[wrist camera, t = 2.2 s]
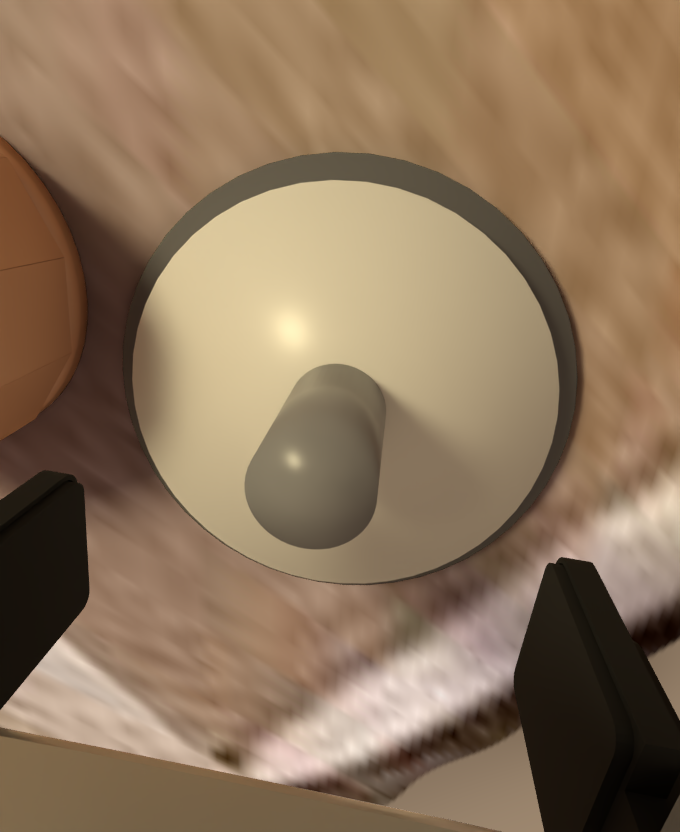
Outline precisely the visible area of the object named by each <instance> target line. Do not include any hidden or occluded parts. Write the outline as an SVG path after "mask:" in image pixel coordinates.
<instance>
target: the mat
mask: <svg viewBox="0 0 680 832" xmlns="http://www.w3.org/2000/svg"><path fill="white" fill-rule="evenodd" d="M327 180H343V181H362V182H370V183H375V184H380V185H385V186H390V187H395V188H399V189H402V190H405V191H408V192H411V193H413V194H416V195H419V196H422V197H425V198H427V199H429V200H431V201H433V202H435V203H437V204H439V205H441V206H443V207H445V208H447V209H449V210H451V211H453V212H454V213H456V214H458V215H459V216H460V217H462V218H463V219H465V220H466V221H467V222H469V223H470V224H472V225H473V226H474V227H476V228H477V229H479V230H480V231H481V232H483V233H484V234H485V235H486V236H487V237H488V238H489V239H490V240H491V241H492V242H493V243H494V244H495V245H496V246H497V247H498V248H500V249H501V250H502V251H503V252H504V253H505V254H506V255H507V257H508V258H509V259H510V261H511V262H512V263H513V264H514V266H515V267H516V268H517V269H518V271H519V272H520V273H521V275H522V276H523V277H524V278H525V280H526V282H527V284H528V285H529V287H530V289H531V291H532V292H533V294H534V296H535V298H536V299H537V301H538V303H539V305H540V307H541V309H542V312H543V314H544V317H545V320H546V322H547V325H548V327H549V330H550V332H551V336H552V341H553V345H554V349H555V354H556V358H557V365H558V378H559V403H558V417H557V422H556V426H555V431H554V436H553V440H552V444H551V447H550V450H549V452H548V455H547V458H546V460H545V463H544V466H543V468H542V470H541V472H540V474H539V476H538V478H537V479H536V481H535V483H534V485H533V487H532V489H531V491H530V492H529V493H528V495H527V496H526V497H525V499H524V500H523V502H522V503H521V504H520V506H519V507H518V508H517V510H516V511H515V512H514V513H513V514H512V515H511V516H510V517H509V518H508V520H507V521H506V522H505V523H504V524H503V525H502V526H501V527H500V528H499V529H498V530H497V531H495V532H494V533H493V534H492V535H491V536H489V537H488V538H487V539H486V540H484V541H483V542H482V543H481V544H479V545H478V546H476V547H475V548H473V549H472V550H470V551H468V552H467V553H465V554H464V555H462V556H460V557H459V558H457V559H455V560H453V561H450V562H448V563H446V564H444V565H442V566H440V567H438V568H435V569H432V570H429V571H426V572H423V573H420V574H417V575H414V576H411V577H406V578H401V579H397V580H392V581H385V582H375V583H365V584H361V583H334V582H326V583H334V584H343V585H372V584H382V583H392V582H398V581H403V580H408V579H412V578H417V577H421V576H424V575H427V574H430V573H433V572H436V571H439V570H442V569H445V568H447V567H449V566H451V565H453V564H455V563H458V562H460V561H462V560H464V559H466V558H468V557H470V556H471V555H473V554H475V553H476V552H478V551H479V550H481V549H483V548H484V547H486V546H488V545H489V544H491V543H492V542H493V541H494V540H496V539H497V538H498V537H499V536H500V535H502V534H503V533H504V532H505V531H507V530H508V529H509V528H510V527H511V526H512V525H513V524H514V523H515V522H516V521H517V520H518V519H519V518H520V517H521V516H522V515H523V514H524V513H525V512H526V511H527V510H528V509H529V508H530V506H531V505H532V504H533V502H534V501H535V500H536V498H537V497H538V495H539V494H540V493H541V491H542V490H543V489H544V487H545V486H546V484H547V482H548V480H549V479H550V477H551V475H552V473H553V471H554V469H555V468H556V466H557V464H558V462H559V460H560V457H561V454H562V452H563V449H564V447H565V444H566V441H567V439H568V436H569V432H570V428H571V423H572V419H573V414H574V410H575V402H576V389H577V364H576V349H575V344H574V339H573V334H572V330H571V325H570V320H569V317H568V314H567V311H566V309H565V306H564V303H563V301H562V298H561V295H560V293H559V290H558V287H557V286H556V284H555V282H554V280H553V278H552V277H551V275H550V273H549V271H548V269H547V268H546V266H545V264H544V262H543V260H542V259H541V257H540V256H539V255H538V253H537V252H536V251H535V249H534V248H533V247H532V246H531V244H530V243H529V242H528V240H527V239H526V238H525V236H524V235H523V234H522V232H520V231H519V230H518V229H517V228H516V227H515V226H514V225H513V224H512V223H511V222H510V221H509V220H508V219H507V218H506V217H505V216H504V215H503V214H502V213H501V212H500V211H499V210H498V209H497V208H495V207H494V206H493V205H491V204H490V203H489V202H487V201H486V200H484V199H483V198H482V197H480V196H479V195H477V194H476V193H475V192H473V191H472V190H471V189H469V188H467V187H465V186H464V185H462V184H460V183H458V182H456V181H454V180H452V179H450V178H448V177H446V176H444V175H443V174H441V173H439V172H436V171H433V170H430V169H428V168H425V167H422V166H419V165H416V164H413V163H410V162H408V161H405V160H400V159H395V158H389V157H384V156H379V155H374V154H364V153H343V152H332V153H322V154H312V155H302V156H297V157H293V158H289V159H285V160H281V161H277V162H273V163H269V164H267V165H264V166H262V167H259V168H257V169H255V170H252V171H250V172H247V173H245V174H243V175H240V176H238V177H236V178H234V179H233V180H231V181H229V182H228V183H226V184H224V185H223V186H221V187H219V188H218V189H216V190H214V191H213V192H211V193H210V194H209V195H207V196H206V197H205V198H204V199H202V200H201V201H200V202H199V203H198V204H196V205H195V206H194V207H193V208H191V209H190V210H189V211H188V212H187V213H186V214H185V215H184V216H183V217H182V218H181V219H180V220H179V221H178V222H177V224H176V225H175V226H174V227H173V228H172V229H171V230H170V231H169V232H168V233H167V235H166V236H165V237H164V239H163V240H162V242H161V243H160V245H159V246H158V248H157V249H156V251H155V252H154V254H153V255H152V257H151V258H150V260H149V262H148V264H147V266H146V268H145V270H144V272H143V274H142V276H141V278H140V280H139V283H138V285H137V287H136V290H135V293H134V296H133V300H132V303H131V306H130V309H129V313H128V317H127V324H126V330H125V336H124V344H123V375H124V384H125V394H126V399H127V403H128V408H129V412H130V416H131V420H132V423H133V426H134V429H135V431H136V434H137V437H138V440H139V442H140V445H141V447H142V449H143V451H144V453H145V455H146V457H147V459H148V461H149V463H150V465H151V467H152V469H153V470H154V472H155V473H156V475H157V476H158V478H159V479H160V481H161V482H162V484H163V485H164V487H165V488H166V490H167V491H168V492H169V493H170V495H171V496H172V497H173V498H174V499H175V500H176V502H177V503H178V504H179V505H180V506H181V508H182V509H183V510H184V511H185V512H186V513H187V514H188V515H189V516H190V517H191V518H192V519H194V520H195V521H196V522H197V523H198V524H199V525H200V526H201V527H202V528H203V529H204V530H206V531H207V532H208V533H210V534H211V535H212V536H214V537H215V538H216V539H218V540H219V541H220V542H222V543H223V544H225V543H224V542H223V541H221V540H220V539H219V538H217V537H216V536H215V535H213V534H212V533H211V532H209V531H208V530H207V529H206V528H205V527H204V526H203V525H202V524H200V523H199V522H198V521H197V520H196V519H195V518H194V517H193V516H192V515H191V514H190V513H189V512H188V511H187V510H186V508H185V507H184V506H183V505H182V504H181V503H180V501H179V500H178V499H177V498H176V497H175V496H174V494H173V493H172V491H171V490H170V488H169V487H168V485H167V484H166V482H165V481H164V479H163V478H162V476H161V475H160V473H159V471H158V469H157V467H156V465H155V463H154V461H153V459H152V457H151V455H150V454H149V451H148V448H147V446H146V443H145V440H144V438H143V435H142V432H141V429H140V425H139V421H138V417H137V412H136V408H135V402H134V392H133V382H132V373H133V352H134V346H135V341H136V335H137V329H138V326H139V323H140V319H141V316H142V313H143V310H144V307H145V304H146V302H147V300H148V298H149V295H150V293H151V291H152V289H153V287H154V285H155V283H156V281H157V279H158V278H159V276H160V275H161V273H162V272H163V270H164V269H165V267H166V266H167V264H168V263H169V262H170V260H171V259H172V257H173V256H174V255H175V254H176V253H177V251H178V250H179V249H180V248H181V247H182V246H183V245H184V244H185V243H186V242H187V241H188V240H189V239H190V237H191V236H192V235H193V234H195V233H196V232H197V231H198V230H200V229H201V228H202V227H203V226H205V225H206V224H207V223H208V222H210V221H211V220H212V219H213V218H215V217H216V216H218V215H219V214H221V213H223V212H225V211H226V210H228V209H230V208H231V207H233V206H235V205H237V204H238V203H240V202H242V201H244V200H247V199H249V198H252V197H254V196H257V195H259V194H262V193H264V192H267V191H269V190H273V189H277V188H281V187H285V186H290V185H294V184H298V183H305V182H316V181H327ZM225 545H226V546H228V545H227V544H225ZM228 547H230V546H228ZM230 548H231V549H233V548H232V547H230ZM233 550H235V549H233ZM235 551H236V552H238V551H237V550H235ZM238 553H240V552H238ZM240 554H241V555H243V554H242V553H240ZM243 556H245V555H243ZM245 557H247V556H245ZM247 558H248V557H247ZM249 559H251V558H249ZM251 560H253V559H251ZM253 561H255V560H253ZM255 562H257V561H255ZM257 563H259V562H257ZM260 564H261V563H260ZM262 565H264V564H262ZM264 566H266V565H264ZM266 567H268V566H266ZM268 568H270V567H268ZM271 569H273V568H271ZM274 570H276V569H274ZM277 571H279V570H277ZM280 572H282V571H280ZM283 573H285V572H283ZM286 574H288V573H286ZM289 575H291V574H289ZM292 576H294V575H292ZM295 577H299V576H295ZM300 578H303V577H300ZM304 579H308V578H304ZM309 580H312V579H309ZM313 581H316V580H313ZM318 582H325V581H318Z"/></svg>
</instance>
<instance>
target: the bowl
mask: <svg viewBox="0 0 680 832" xmlns="http://www.w3.org/2000/svg"><path fill="white" fill-rule="evenodd" d="M86 329H87V294H86V286H85V278H84V274H83V270H82V266H81V262H80V258H79V254H78V251H77V248H76V246H75V243H74V240H73V237H72V235H71V232H70V230H69V228H68V226H67V224H66V222H65V220H64V218H63V216H62V213H61V211H60V209H59V207H58V206H57V204H56V203H55V201H54V199H53V198H52V196H51V195H50V193H49V191H48V190H47V188H46V187H45V185H44V184H43V182H42V181H41V180H40V179H39V177H38V176H37V175H36V173H35V172H34V171H33V170H32V168H31V167H30V166H29V165H28V163H27V162H26V161H25V160H24V159H23V158H22V157H21V156H20V155H19V154H18V153H17V152H16V151H15V150H14V149H13V148H12V147H11V146H10V145H9V144H8V143H7V142H6V141H5V140H4V139H3V138H1V137H0V441H1V440H2V439H4V438H5V437H7V436H9V435H10V434H12V433H14V432H15V431H17V430H18V429H20V428H22V427H23V426H25V425H26V424H28V423H30V422H31V421H33V420H34V419H36V417H37V416H38V414H39V413H40V412H42V411H43V410H44V409H45V408H47V407H48V406H49V405H51V404H52V403H53V401H54V400H55V399H56V398H57V397H58V396H59V395H60V394H61V393H62V392H63V390H64V389H65V387H66V386H67V384H68V383H69V381H70V380H71V378H72V376H73V374H74V372H75V370H76V368H77V365H78V363H79V361H80V357H81V354H82V350H83V347H84V343H85V337H86Z"/></svg>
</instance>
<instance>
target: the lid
mask: <svg viewBox="0 0 680 832" xmlns="http://www.w3.org/2000/svg"><path fill="white" fill-rule="evenodd" d="M132 382H133V392H134V402H135V408H136V412H137V417H138V421H139V425H140V429H141V432H142V435H143V438H144V440H145V443H146V446H147V448H148V451H149V454H150V455H151V457H152V459H153V461H154V463H155V465H156V467H157V469H158V471H159V473H160V475H161V476H162V478H163V479H164V481H165V482H166V484H167V485H168V487H169V488H170V490H171V491H172V493H173V494H174V496H175V497H176V498H177V499H178V500H179V501H180V503H181V504H182V505H183V506H184V507H185V508H186V510H187V511H188V512H189V513H190V514H191V515H192V516H193V517H194V518H195V519H196V520H197V521H198V522H199V523H200V524H202V525H203V526H204V527H205V528H206V529H207V530H208V531H209V532H211V533H212V534H213V535H215V536H216V537H217V538H219V539H220V540H221V541H223V542H224V543H225V544H227V545H228V546H230V547H232V548H233V549H235V550H237V551H238V552H240V553H242V554H243V555H245V556H247V557H248V558H251V559H253V560H255V561H257V562H259V563H261V564H264V565H266V566H268V567H270V568H273V569H276V570H279V571H282V572H285V573H288V574H291V575H294V576H299V577H303V578H308V579H312V580H316V581H325V582H334V583H361V584H365V583H375V582H385V581H392V580H397V579H401V578H406V577H411V576H414V575H417V574H420V573H423V572H426V571H429V570H432V569H435V568H438V567H440V566H442V565H444V564H446V563H448V562H450V561H453V560H455V559H457V558H459V557H460V556H462V555H464V554H465V553H467V552H468V551H470V550H472V549H473V548H475V547H476V546H478V545H479V544H481V543H482V542H483V541H484V540H486V539H487V538H488V537H489V536H491V535H492V534H493V533H494V532H495V531H497V530H498V529H499V528H500V527H501V526H502V525H503V524H504V523H505V522H506V521H507V520H508V518H509V517H510V516H511V515H512V514H513V513H514V512H515V511H516V510H517V508H518V507H519V506H520V504H521V503H522V502H523V500H524V499H525V497H526V496H527V495H528V493H529V492H530V491H531V489H532V487H533V485H534V483H535V481H536V479H537V478H538V476H539V474H540V472H541V470H542V468H543V466H544V463H545V460H546V458H547V455H548V452H549V450H550V447H551V444H552V440H553V436H554V431H555V426H556V422H557V417H558V403H559V378H558V365H557V358H556V354H555V349H554V345H553V341H552V336H551V332H550V330H549V327H548V325H547V322H546V320H545V317H544V314H543V312H542V309H541V307H540V305H539V303H538V301H537V299H536V298H535V296H534V294H533V292H532V291H531V289H530V287H529V285H528V284H527V282H526V280H525V278H524V277H523V276H522V275H521V273H520V272H519V271H518V269H517V268H516V267H515V266H514V264H513V263H512V262H511V261H510V259H509V258H508V257H507V255H506V254H505V253H504V252H503V251H502V250H501V249H500V248H498V247H497V246H496V245H495V244H494V243H493V242H492V241H491V240H490V239H489V238H488V237H487V236H486V235H485V234H484V233H483V232H481V231H480V230H479V229H477V228H476V227H474V226H473V225H472V224H470V223H469V222H467V221H466V220H465V219H463V218H462V217H460V216H459V215H458V214H456V213H454V212H453V211H451V210H449V209H447V208H445V207H443V206H441V205H439V204H437V203H435V202H433V201H431V200H429V199H427V198H425V197H422V196H419V195H416V194H413V193H411V192H408V191H405V190H402V189H399V188H395V187H390V186H385V185H380V184H375V183H370V182H362V181H343V180H327V181H316V182H305V183H298V184H294V185H290V186H285V187H281V188H277V189H273V190H269V191H267V192H264V193H262V194H259V195H257V196H254V197H252V198H249V199H247V200H244V201H242V202H240V203H238V204H237V205H235V206H233V207H231V208H230V209H228V210H226V211H225V212H223V213H221V214H219V215H218V216H216V217H215V218H213V219H212V220H211V221H210V222H208V223H207V224H206V225H205V226H203V227H202V228H201V229H200V230H198V231H197V232H196V233H195V234H193V235H192V236H191V237H190V239H189V240H188V241H187V242H186V243H185V244H184V245H183V246H182V247H181V248H180V249H179V250H178V251H177V253H176V254H175V255H174V256H173V257H172V259H171V260H170V262H169V263H168V264H167V266H166V267H165V269H164V270H163V272H162V273H161V275H160V276H159V278H158V279H157V281H156V283H155V285H154V287H153V289H152V291H151V293H150V295H149V298H148V300H147V302H146V304H145V307H144V310H143V313H142V316H141V319H140V323H139V326H138V329H137V335H136V341H135V346H134V352H133V373H132Z"/></svg>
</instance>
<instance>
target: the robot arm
mask: <svg viewBox="0 0 680 832" xmlns="http://www.w3.org/2000/svg"><path fill="white" fill-rule="evenodd" d="M88 597H89V573H88V554H87V536H86V518H85V500H84V488H83V486H82V484H80V483H77V480H76V478H75V476H73V475H70V474H64V473H58V472H52V471H42V472H40V473H38V474H37V475H35V476H34V477H33V478H31V479H30V480H28V481H27V482H26V483H24V484H23V485H21V486H20V487H18V488H17V489H16V490H14V491H13V492H11V493H10V494H9V495H7V496H6V497H4V498H3V499H1V500H0V710H1V708H2V707H3V706H4V705H5V704H6V702H7V701H8V700H9V699H10V697H11V696H12V695H13V694H14V693H15V691H16V690H17V689H18V688H19V687H20V685H21V684H22V683H23V682H24V680H25V679H26V678H27V677H28V676H29V674H30V673H31V672H32V671H33V670H34V668H35V667H36V666H37V665H38V663H39V662H40V661H41V660H42V659H43V657H44V656H45V655H46V654H47V653H48V651H49V650H50V649H51V648H52V646H53V645H54V644H55V643H56V642H57V640H58V639H59V638H60V637H61V636H62V634H63V633H64V632H65V631H66V629H67V628H68V627H69V626H70V625H71V623H72V622H73V621H74V620H75V619H76V617H77V616H78V615H79V614H80V612H81V611H82V610H83V609H84V607H85V605H86V603H87V600H88ZM514 690H515V695H516V700H517V705H518V709H519V714H520V719H521V724H522V728H523V733H524V738H525V742H526V747H527V752H528V757H529V761H530V766H531V770H532V776H533V780H534V785H535V790H536V794H537V799H538V804H539V809H540V813H541V818H542V822H543V827H544V832H680V720H679V718H678V716H677V714H676V712H675V710H674V709H673V707H672V705H671V703H670V701H669V699H668V697H667V695H666V693H665V691H664V689H663V688H662V686H661V684H660V682H659V680H658V678H657V676H656V674H655V672H654V670H653V668H652V667H651V665H650V663H649V661H648V659H647V657H646V655H645V653H644V651H643V650H642V648H641V647H640V645H639V644H638V643H636V642H635V641H633V640H632V638H631V636H630V634H629V632H628V630H627V628H626V626H625V625H624V623H623V621H622V619H621V617H620V615H619V613H618V611H617V609H616V607H615V605H614V603H613V601H612V599H611V597H610V595H609V593H608V591H607V589H606V587H605V585H604V583H603V581H602V579H601V577H600V575H599V574H598V572H597V570H596V568H595V566H594V565H593V563H591V562H587V561H581V560H575V559H569V558H563V557H561V558H559V559H558V560H557V562H556V564H553V563H549V564H548V565H547V566H546V568H545V571H544V575H543V578H542V581H541V585H540V588H539V591H538V594H537V598H536V601H535V604H534V608H533V611H532V614H531V618H530V621H529V624H528V628H527V631H526V634H525V638H524V641H523V644H522V648H521V651H520V654H519V658H518V661H517V664H516V668H515V672H514ZM0 832H501V831H496V830H492V829H488V828H484V827H479V826H475V825H470V824H466V823H462V822H457V821H453V820H449V819H444V818H439V817H434V816H429V815H425V814H420V813H415V812H411V811H406V810H401V809H396V808H392V807H387V806H382V805H377V804H373V803H368V802H363V801H358V800H354V799H349V798H344V797H339V796H335V795H330V794H325V793H321V792H316V791H311V790H306V789H302V788H297V787H292V786H287V785H282V784H277V783H273V782H268V781H263V780H258V779H253V778H248V777H243V776H239V775H234V774H229V773H224V772H219V771H214V770H209V769H204V768H200V767H195V766H190V765H185V764H180V763H175V762H170V761H165V760H160V759H155V758H150V757H146V756H141V755H136V754H131V753H126V752H121V751H116V750H111V749H106V748H101V747H96V746H91V745H86V744H81V743H76V742H71V741H66V740H61V739H56V738H50V737H45V736H40V735H35V734H30V733H25V732H20V731H15V730H10V729H5V728H0Z"/></svg>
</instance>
